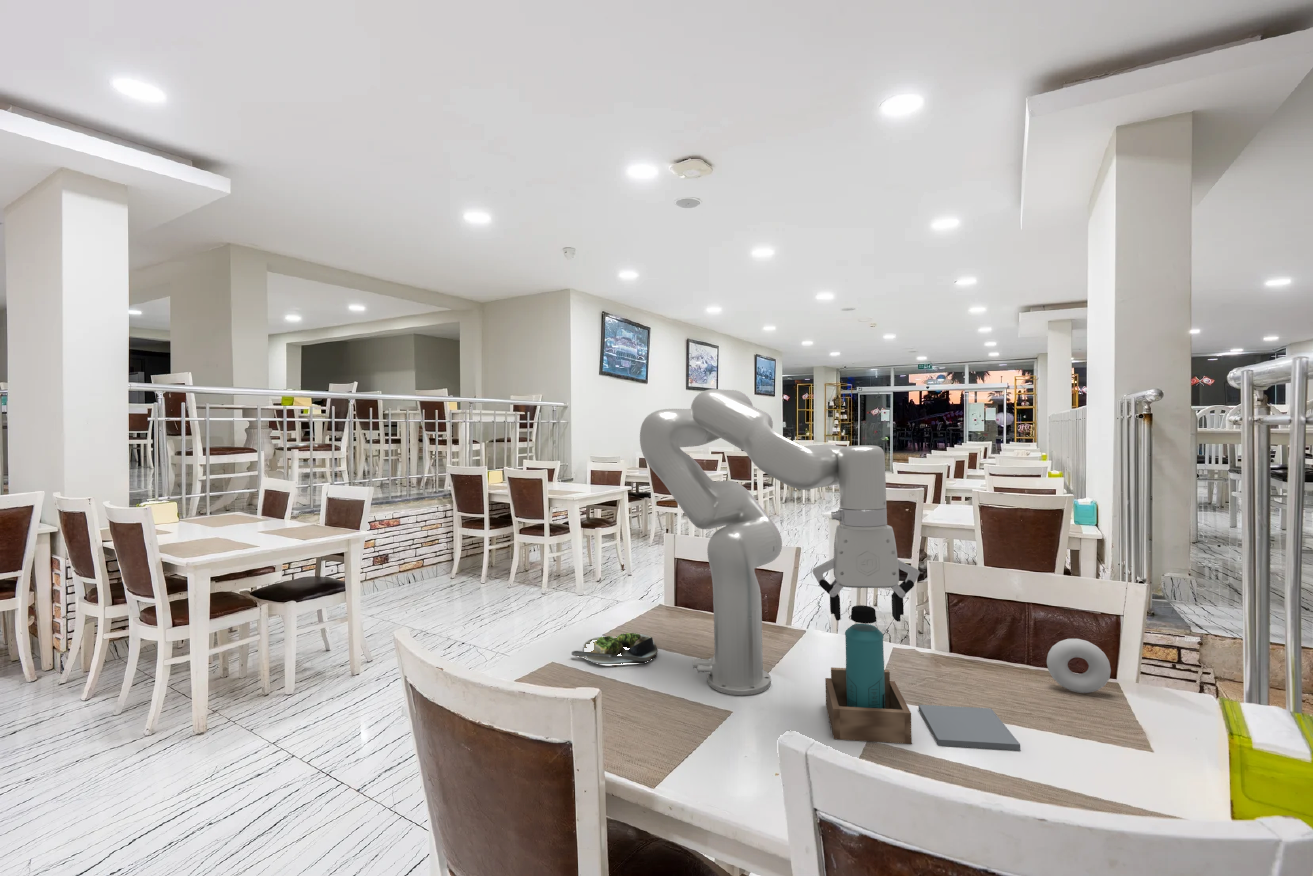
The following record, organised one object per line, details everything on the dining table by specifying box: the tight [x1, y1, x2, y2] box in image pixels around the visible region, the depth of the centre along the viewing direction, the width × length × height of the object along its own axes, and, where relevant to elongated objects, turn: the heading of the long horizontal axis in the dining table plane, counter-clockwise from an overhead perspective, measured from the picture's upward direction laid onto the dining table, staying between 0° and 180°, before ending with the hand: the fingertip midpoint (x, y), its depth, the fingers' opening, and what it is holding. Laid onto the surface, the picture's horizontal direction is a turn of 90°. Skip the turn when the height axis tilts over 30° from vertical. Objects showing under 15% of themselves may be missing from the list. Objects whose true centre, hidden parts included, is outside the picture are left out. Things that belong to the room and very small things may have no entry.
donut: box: [1046, 638, 1112, 694], centre depth 113 cm, size 10×4×10 cm, turn 65°
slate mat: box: [917, 704, 1021, 752], centre depth 101 cm, size 12×12×1 cm
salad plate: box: [571, 632, 659, 664], centre depth 137 cm, size 19×18×5 cm
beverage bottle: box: [844, 604, 886, 709], centre depth 103 cm, size 6×7×20 cm
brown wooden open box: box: [824, 666, 912, 745], centre depth 103 cm, size 12×12×7 cm
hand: (866, 618), depth 103 cm, fingers open, 9 cm apart
